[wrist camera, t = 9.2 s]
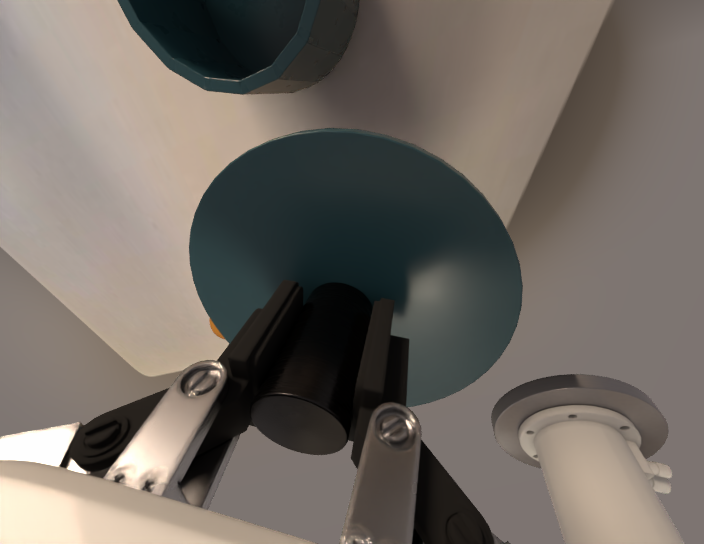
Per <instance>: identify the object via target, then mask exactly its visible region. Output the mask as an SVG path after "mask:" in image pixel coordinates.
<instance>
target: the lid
mask: <svg viewBox="0 0 704 544" xmlns="http://www.w3.org/2000/svg"><path fill="white" fill-rule="evenodd" d="M189 254H190V266H191V271H192V276H193V281H194V284H195V287H196V290H197V293H198V295H199V298H200V300H201V302H202V304H203V306H204V308H205V310H206V312H207V314H208V315H209V317H210V319H211V320H212V322H213V323H214V325H215V326H216V328H217V329H218V330H219V332H220V333H221V334H222V335H223V337H224V338H225V339H226V340H227V341H228V342H229V344H230V343H231V341H232V340H233V339H234V337H235V336H236V335H237V333H238V332H239V331H240V329H241V328H242V327H243V325H244V324H245V323H246V321H247V320H248V319H249V317H250V316H251V315H252V313H253V312H254V311H255V310H256V309H258V308H261V309H263V308H264V306H265V305H266V303H267V302H268V301H269V299H270V298H271V296H272V295H273V294H274V292H275V291H276V289H277V288H278V287H279V285H280V284H281V282H282V281H283V280H289V281H295V282H298V283H299V286H301V287H303V308H302V310H301V312H300V314H299V316H298V318H297V320H296V321H295V323H294V325H293V327H292V329H291V331H290V333H289V334H288V336H287V338H286V340H285V342H284V344H283V346H282V347H281V349H280V351H279V353H278V355H277V357H276V359H275V360H274V362H273V364H272V366H271V368H270V370H269V372H268V373H267V375H266V377H265V379H264V381H263V383H262V385H261V386H260V388H259V390H258V392H257V394H256V396H255V398H254V399H253V401H252V403H251V406H250V417H251V420H252V422H253V423H254V425H255V426H256V427H257V429H258V430H259V431H260V432H261V433H262V434H264V435H265V436H266V437H268V438H269V439H271V440H272V441H274V442H275V443H277V444H279V445H281V446H283V447H286V448H288V449H291V450H294V451H297V452H301V453H306V454H313V455H327V454H332V453H335V452H338V451H340V450H341V449H342V448H343V447H344V446H345V445H346V443H347V442H348V438H349V433H350V429H351V424H352V419H353V412H352V408H353V401H354V393H355V387H356V382H357V377H358V373H359V368H360V364H361V359H362V355H363V350H364V346H365V341H366V337H367V332H368V328H369V323H370V319H371V314H372V310H373V305H374V301H380V299H381V298H385V299H390V300H395V303H394V311H393V319H392V327H391V335H393V336H398V337H403V338H408V339H409V360H408V380H407V400H406V407H413V406H417V405H422V404H426V403H430V402H433V401H436V400H439V399H442V398H445V397H447V396H449V395H451V394H454V393H456V392H458V391H460V390H462V389H463V388H465V387H467V386H468V385H470V384H471V383H473V382H475V381H476V380H477V379H478V378H479V377H481V376H482V375H483V374H484V373H486V372H487V371H488V370H489V369H490V368H491V367H492V366H493V364H494V363H495V362H496V361H497V360H498V359H499V358H500V356H501V355H502V353H503V352H504V350H505V349H506V347H507V346H508V344H509V343H510V340H511V338H512V336H513V333H514V331H515V329H516V327H517V323H518V319H519V315H520V311H521V306H522V287H523V285H522V279H521V270H520V264H519V260H518V257H517V254H516V251H515V248H514V244H513V242H512V240H511V238H510V236H509V234H508V232H507V230H506V228H505V226H504V224H503V222H502V220H501V219H500V217H499V215H498V214H497V212H496V211H495V210H494V208H493V207H492V206H491V204H490V203H489V202H488V200H487V199H486V198H485V196H484V195H483V194H482V193H481V192H480V191H479V190H478V189H477V188H476V187H475V186H474V185H473V184H472V183H471V182H470V181H469V180H468V179H467V178H466V177H465V176H464V175H463V174H462V173H460V172H459V171H457V170H456V169H455V168H453V167H452V166H450V165H449V164H448V163H446V162H445V161H444V160H442V159H441V158H439V157H437V156H435V155H433V154H432V153H430V152H428V151H426V150H424V149H422V148H420V147H418V146H416V145H414V144H412V143H409V142H406V141H403V140H400V139H397V138H394V137H391V136H388V135H385V134H380V133H375V132H370V131H364V130H359V129H342V128H324V129H315V130H306V131H300V132H296V133H293V134H289V135H285V136H282V137H278V138H275V139H272V140H270V141H268V142H266V143H263V144H261V145H259V146H257V147H255V148H252V149H250V150H248V151H247V152H245V153H244V154H243V155H241V156H240V157H238V158H237V159H235V160H234V161H232V162H231V163H230V164H229V165H228V166H227V167H226V168H225V169H224V170H223V171H222V172H221V173H220V174H219V175H218V176H217V177H216V178H215V179H214V180H213V182H212V183H211V184H210V186H209V187H208V189H207V190H206V192H205V193H204V194H203V197H202V199H201V201H200V203H199V205H198V207H197V210H196V212H195V215H194V219H193V223H192V227H191V232H190V243H189Z"/></svg>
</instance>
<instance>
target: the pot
mask: <svg viewBox="0 0 704 544" xmlns="http://www.w3.org/2000/svg"><path fill="white" fill-rule="evenodd" d="M118 2H119V4H120V6H121V8H122V10H123V12H124V14H125V16H126V17H127V19H128V21H129V23H130V25H131V27H132V28H133V30H134V31H135V32H136V33H137V34H138V35H139V36H140V37H141V39H142V40H143V41H144V42H145V43H146V44H147V45H148V46H149V48H150V49H151V50H152V51H153V52H154V53H155V54H156V55H157V57H158V58H159V59H160V60H161V61H162V62H163V63H164V64H165V66H166V67H168V68H169V69H170V70H172V71H173V72H175V73H177V74H179V75H180V76H182V77H184V78H185V79H187V80H189V81H190V82H192V83H194V84H196V85H197V86H199V87H201V88H202V89H204V90H207V91H214V92H223V93H233V94H242V95H243V94H274V93H294V92H296V91H299V90H302V89H305V88H308V87H310V86H312V85H314V84H316V83H318V82H320V81H321V80H322V79H323V78H324V77H325V76H326V75H327V74H328V73H329V72H330V71H331V70H332V69H333V68H334V67H335V65H336V64H337V63H338V62H339V60H340V59H341V57H342V55H343V54H344V52H345V50H346V48H347V46H348V43H349V41H350V39H351V36H352V33H353V30H354V27H355V23H356V18H357V14H358V7H359V0H118Z"/></svg>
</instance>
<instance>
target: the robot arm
mask: <svg viewBox="0 0 704 544" xmlns="http://www.w3.org/2000/svg"><path fill="white" fill-rule="evenodd" d="M394 303H395V300H390V299H385V298H381V299H380V301H374V305H373V310H372V314H371V319H370V323H369V328H368V332H367V337H366V341H365V346H364V350H363V355H362V359H361V364H360V368H359V373H358V377H357V382H356V387H355V393H354V401H353V408H352V412H353V419H352V424H351V429H350V433H349V438H348V440H350V441H354V443H353V449H352V455H351V459H352V461H353V462H354V464H355V466H356V468H357V469H358V470H357V474H356V478H355V482H354V486H353V491H352V494H351V498H350V502H349V506H348V511H347V514H346V518H345V523H344V526H343V531H342V534H341V539H340V543H339V544H510V543H509V542H508V541H507V542H506V543H504V542H502V541H501V540H500V539H499V538H498V537H496V536H495V535H494V534H493V533H492V532H491V530H490V528H489V526H488V524H487V523H486V521H485V519H484V518H483V516H482V515H481V514H480V512H479V511H478V510H477V509H476V507H475V506H474V505H473V504H472V503H471V501H470V500H469V499H468V497H467V496H466V495H465V494H464V492H463V491H462V490H461V489H460V488H459V486H458V485H457V484H456V482H455V481H454V480H453V479H452V477H451V476H450V475H449V474H448V473H447V471H446V470H445V469H444V467H443V466H442V465H441V464H440V463H439V461H438V460H437V459H436V457H435V456H434V455H433V454H432V452H431V451H430V450H429V449H428V448H427V446H426V445H425V444H424V442H423V441H422V440H421V435H422V434H421V426H420V423H419V420H418V418H417V417H416V415H415V414H414V413H413V412H412V411H411V410H410V409H409V408H407V407H406V400H407V380H408V360H409V339H408V338H403V337H398V336H393V335H391V327H392V319H393V311H394ZM302 308H303V287H301V286H299V283H298V282H295V281H289V280H283V281H282V282H281V284H280V285H279V287H278V288H277V289H276V291H275V292H274V294H273V295H272V296H271V298H270V299H269V301H268V302H267V303H266V305H265V306H264V308H263V309H261V308H258V309H256V310H255V311H254V312H253V313H252V315H251V316H250V317H249V319H248V320H247V321H246V323H245V324H244V325H243V327H242V328H241V329H240V331H239V332H238V333H237V335H236V336H235V337H234V339H233V340H232V341H231V343H230V344H229V345H228V347H227V348H226V349H225V351H224V352H223V353H222V355H221V356H220V357H219V359H218V360H217V361H214V360H205V361H200V362H197V363H195V364H192V365H190V366H189V367H187V368H186V369H185V370H183V372H182V373H181V374H180V375H179V376H178V377H177V379H176V380H175V381H174V383H173V384H172V385H171V387H170V388H168V389H165V390H163V391H160V392H158V393H155V394H153V395H150V396H147V397H145V398H142V399H140V400H137V401H135V402H132V403H130V404H127V405H124V406H122V407H119V408H117V409H114V410H112V411H109V412H107V413H104V414H102V415H100V416H98V417H96V418H94V419H93V420H92V421H90V422H89V423H87V424H86V425H82V423H80V422H79V423H73V424H68V425H63V426H57V427H52V428H47V429H42V430H36V431H31V432H25V433H20V434H14V435H9V436H4V437H0V544H317V543H314V542H311V541H308V540H304V539H301V538H298V537H295V536H291V535H288V534H285V533H282V532H279V531H275V530H272V529H269V528H265V527H262V526H259V525H255V524H252V523H249V522H246V521H242V520H239V519H236V518H232V517H229V516H226V515H223V514H219V513H216V512H213V511H209V510H208V508H209V506H210V504H211V501H212V499H213V497H214V494H215V492H216V490H217V488H218V485H219V483H220V481H221V478H222V476H223V474H224V471H225V469H226V467H227V464H228V462H229V460H230V458H231V455H232V453H233V451H234V448H235V446H236V444H237V441H238V439H239V436H240V434H241V433H243V432H245V431H246V430H247V428H248V426H249V425H251V426H255V425H254V423H253V422H252V420H251V417H250V406H251V403H252V401H253V399H254V398H255V396H256V394H257V392H258V390H259V388H260V386H261V385H262V383H263V381H264V379H265V377H266V375H267V373H268V372H269V370H270V368H271V366H272V364H273V362H274V360H275V359H276V357H277V355H278V353H279V351H280V349H281V347H282V346H283V344H284V342H285V340H286V338H287V336H288V334H289V333H290V331H291V329H292V327H293V325H294V323H295V321H296V320H297V318H298V316H299V314H300V312H301V310H302ZM255 427H256V426H255ZM518 437H519V441H520V445H521V447H522V449H523V450H524V451H525V452H526V453H527V454H528V455H529V456H530V457H532V458H533V459H535V460H537V461H539V462H540V466H541V469H542V472H543V475H544V478H545V482H546V485H547V488H548V491H549V494H550V498H551V501H552V504H553V507H554V510H555V514H556V517H557V520H558V523H559V526H560V530H561V532H562V536H563V539H564V542H565V544H685V543H684V541H683V539H682V538H681V536H680V534H679V532H678V531H677V529H676V527H675V525H674V524H673V522H672V520H671V519H670V517H669V515H668V513H667V512H666V510H665V508H664V506H663V505H662V503H661V501H660V499H659V498H658V496H657V494H656V492H655V491H657V492H661V493H665V494H668V493H670V491H671V485H670V482H669V480H668V479H667V478H671V477H672V471H671V469H670V468H669V467H668V466H667V465H665V464H662V463H657V462H650V461H647V460H646V459H645V458H644V456H643V455H642V453H641V451H640V450H639V448H640V446H641V436H640V434H639V432H638V430H637V429H636V427H635V426H634V424H633V423H632V422H631V421H630V420H629V419H627V418H626V417H625V416H623V415H621V414H619V413H617V412H614V411H612V410H609V409H606V408H601V407H596V406H588V405H566V406H558V407H553V408H548V409H545V410H542V411H539V412H537V413H535V414H533V415H531V416H530V417H529V418H527V419H526V420H525V421H524V422H523V423H522V424H521V426H520V428H519V431H518Z"/></svg>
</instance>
